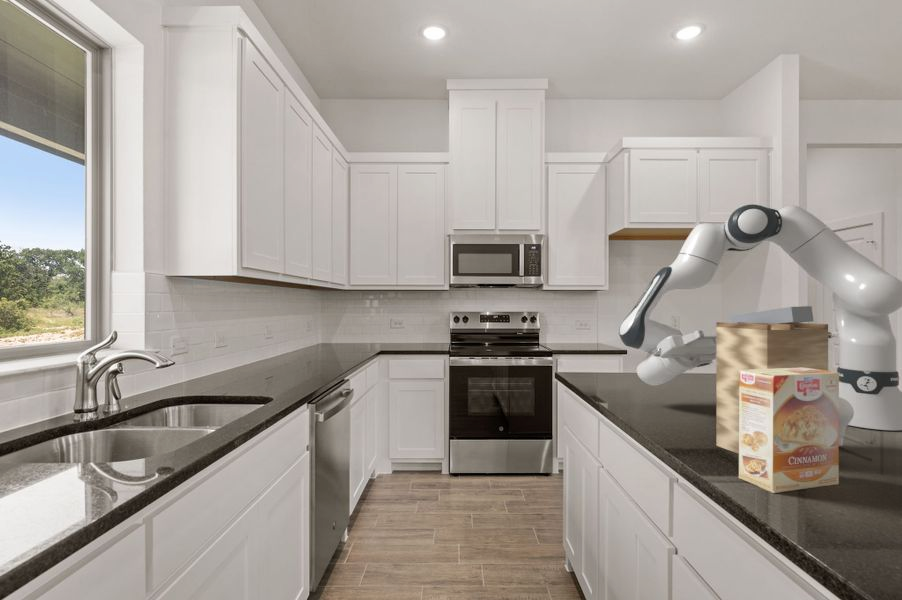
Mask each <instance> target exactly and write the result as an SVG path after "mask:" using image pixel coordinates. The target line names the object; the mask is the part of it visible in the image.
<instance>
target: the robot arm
mask: <svg viewBox="0 0 902 600" xmlns="http://www.w3.org/2000/svg"><path fill="white" fill-rule="evenodd" d="M764 242H771V243H773V244H774V245H775V244H776V245H777V246H779V247H780V248H781V249H782V250H783V251H784V252H785V253H786V254H787V255H788V256H789V257H791V258H790V259H792V260H794V262H795V263H797V264H798V266H799V267H801V268H802V269H803V270H804V271H805V272H806V273H807V274H808V275H809V276H811V277H812V278H813V279H815V280H817V281H818V282H819V283H820V284H822V285H823V286H825V287H826V288H827V289H829V290H830V291H831V292H832V301H833V307H834V315H835V322H836V323H835V324H836V327H837V328H836V329H837V332H838V345H839V346H838V349H839V351H838V354H839V355H838V356H839V357H838V361H839V363H838V367H837V369H836V372H838V373H839V397H840V398H843V399H845V400H846V401H848V402H849V403H850V404H851V406H852V407H853V410H854V415H853V418H852V420H851V421H850V422H849V424H848V425H847V426H852V427H857V428H864V429H871V430H880V431H902V391H901V390H900V389H899V387H898V386H899V385H900V382H899V381H900V376H899V372H898V371H897V339H896V337H895V335H894V332H893V329H892V326H891V322H890V317H889V315H890V314H892V313H894V312H896V311H898V310H899V309H901V308H902V280H901V279H899V278H898V277H896V276H894V275H892V274H891V273H889V272H887V271H886V270H885V269H883V268H882V267H881V266H879V265H878V264H877V263H875V262H873V261H872V260H871V259H869V258H868V257H866V256H864V255H863V254H861V253H860V252H858V251H857V250H856V249H854V248H853V247H851V245H849V244H848V243H847V242H846V241H845V240H844V239H843V238H841V237H840V236H839V235H838V234H837V233H836V232H834V230H832V229H831V228H830V227H829V226H827V225H826V224H825V223H824V222H823V221H822V220H821V219H819V218H818V217H816V216H815V215H814V214H813V213H810V212H809V211H807V210H806V209H804V208H802V207H800V206H798V205H794V204H793V205H787V206H784V207H782V208H779V209H775V208H771V207H766V206H764V205H760V204H753V203H752V204H746V205H743V206H741V207H738V208H736V209H735V210H733V212H732V213H731V214H730V215H729V217H728V218H726V221H725V222H723V223H722V224H715V223H711V222H704V223H700V224H697V225H696V226H695V227H693V229H692V230H691V231H690V233H689V234H688V236H687V237H686V239H685V241H684V243H683V245H682V246H681V249H680V250H679V252H678V255H677V257H676V258H675V260H674V261H673V262H672V263H671V264H670V265H669V266H664V267H662V268H660V270H659V271H657V273H656V274H655V275H654V277H652V280H651V281H650V282H649V284H648V285H647V286H646V288H645V290H644V291H643V293H642V294H641V296H640V297H639V299H638V301H637V302H636V304H635V305H634V306H633V308H632V310H631V311H630V312H629V313H628V314H627V315H626V317H625V318H624V319H623V321H622V322H621V324H620V326H619V329H618V335H619V337H620V340H621V342H622V343H623V345H624V346H626V347H629V348H633V349H636V350H640V351H643V352H646V353H647V355H646V356H645V358H644V359H643V360H642V361H641V362H640V363H639V364H638V365H637V367H636V373H637V376H638V378H639V379H640V380H641V382H644V383H645V384H648V385H650V386H659V385H662V384H665V383H668V382H669V381H671V380H673V379H674V378H675V377H677V375H681V374H684V373H685V372H687V371H691V370H693V369H695V368H699V367H704V366H709V365H711V364H714V363H713V360H716V335H712V334H709V335H708V334H707V335H705V334H704V331H703V330H695V331H693V332H692V333H691V332H690V333H688V334H686V335H683V333H682V332H681V331H680V330H678V329H677V328H674V327H672V326H669V325H667V324H664V323H661V322H658V321H656V320H654V319H651V318H650V316H651V314H652V312H653V311H654V310H655V308H656V307H657V305H658V303H659V302H660V300H661V299H662V297H663V296H664V295H665V294H666V293H668V292H670V291H673V290H694V289H699V288H702V287H704V286H706V285H707V284H709V283H710V282H711V281H712V279H713V278H714V276H715V274H716V272H717V270H718V267H719V265H720V263H721V261H722V258H723V257H724V254H725V253H726V252H728V251H729V252H730V251H731V252H746V251H751V250H753V249H754V248H757V246H760V244H762V243H764Z"/></svg>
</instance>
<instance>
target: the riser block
mask: <svg viewBox="0 0 902 600" xmlns="http://www.w3.org/2000/svg"><path fill="white" fill-rule="evenodd" d="M715 326H716V327H715V328H716V331H715V332H716V333H715V334H716V359H715V360H716V379H715V380H716V388H715V390H716V394H715V395H716V408H715V409H716V420H715V421H716V423H715V424H716V426H715V427H716V447H719V448H722V449H724V450H728V451H731V452H733V453H736V454H738V455H739V370H749V369H776V368H800V367H804V368H811V369H820V370H827V371H829V323H809V322H802V323H792V324H771V323H749V322H737V323H732V322H720V321H719V322H718V321H717V322H716V325H715Z"/></svg>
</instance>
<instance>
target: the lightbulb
mask: <svg viewBox="0 0 902 600" xmlns="http://www.w3.org/2000/svg"><path fill="white" fill-rule="evenodd" d="M853 415H854V410H853V407H852V406H851V404H850V403H849V402H848V401H846V400H845V399H843V398H840V397H839V447H841V446H843V445H844V437H845V435H846V428H847V427H848V426H849V425H848V424H849V422H850V421H851V420H852V418H853Z"/></svg>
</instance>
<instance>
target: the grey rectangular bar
mask: <svg viewBox="0 0 902 600" xmlns="http://www.w3.org/2000/svg"><path fill="white" fill-rule="evenodd" d="M813 315H814V314H813V306H812V305H803V306H788V307H781V308H774V309H767V310H760V311H754V312H747V313H741V314H733V315H731V316H730V318H731V319H730V320H731V323H737V322H749V323H771V324H792V323H809V322H812V323H813V322H814V316H813Z"/></svg>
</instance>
